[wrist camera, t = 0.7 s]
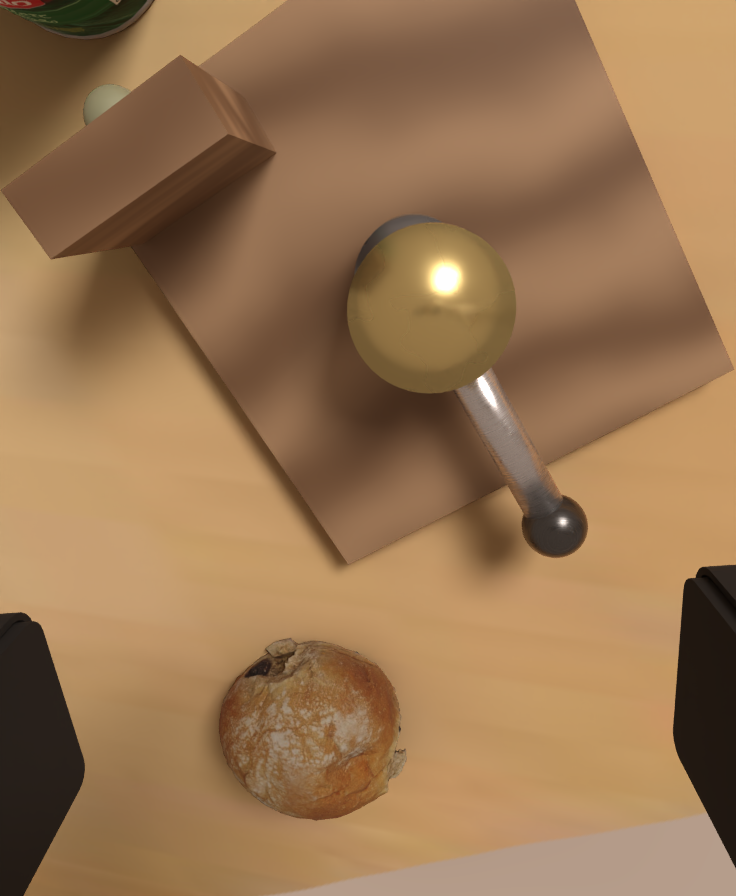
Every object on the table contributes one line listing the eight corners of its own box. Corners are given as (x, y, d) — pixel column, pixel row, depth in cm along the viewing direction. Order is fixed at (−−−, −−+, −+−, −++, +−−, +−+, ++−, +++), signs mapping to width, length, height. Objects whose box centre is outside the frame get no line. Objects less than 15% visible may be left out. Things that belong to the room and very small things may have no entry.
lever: (325, 259, 28) (309, 271, 23) (450, 181, 27) (460, 176, 22) (500, 551, 33) (516, 612, 28) (614, 496, 31) (652, 550, 27)
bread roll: (352, 589, 40) (296, 622, 33) (452, 740, 38) (417, 812, 31) (236, 673, 43) (159, 721, 35) (325, 817, 41) (263, 902, 33)
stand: (719, 361, 31) (847, 426, 22) (350, 550, 35) (332, 668, 26) (499, -141, 25) (552, -333, 16) (88, 162, 29) (-51, 144, 20)
